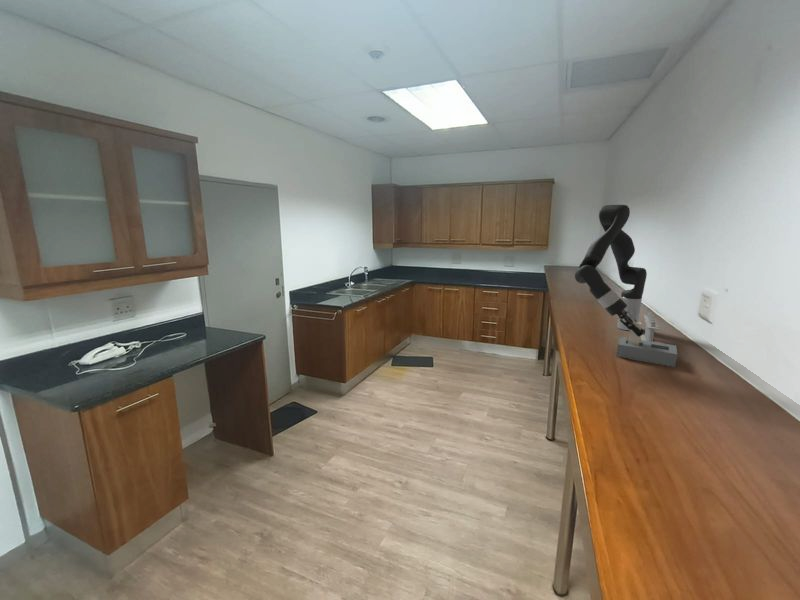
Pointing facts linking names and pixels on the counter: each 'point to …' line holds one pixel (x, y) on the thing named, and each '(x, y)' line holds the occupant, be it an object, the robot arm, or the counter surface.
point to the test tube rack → (649, 327)
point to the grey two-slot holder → (648, 352)
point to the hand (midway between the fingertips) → (641, 333)
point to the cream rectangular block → (634, 335)
